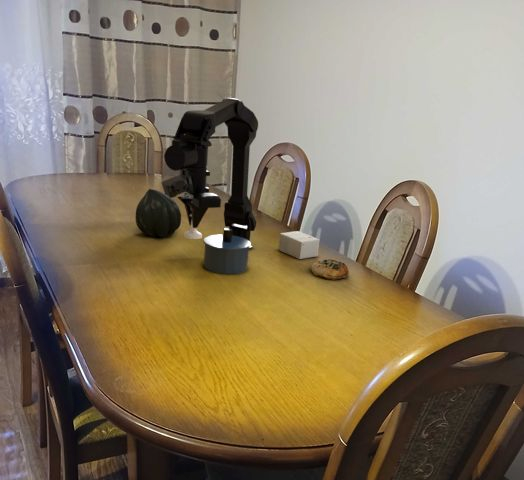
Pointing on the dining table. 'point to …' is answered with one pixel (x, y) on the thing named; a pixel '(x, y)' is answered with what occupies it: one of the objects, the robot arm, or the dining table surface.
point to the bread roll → (330, 269)
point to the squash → (157, 214)
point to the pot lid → (227, 241)
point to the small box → (298, 244)
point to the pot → (225, 260)
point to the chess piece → (192, 232)
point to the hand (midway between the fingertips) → (193, 226)
